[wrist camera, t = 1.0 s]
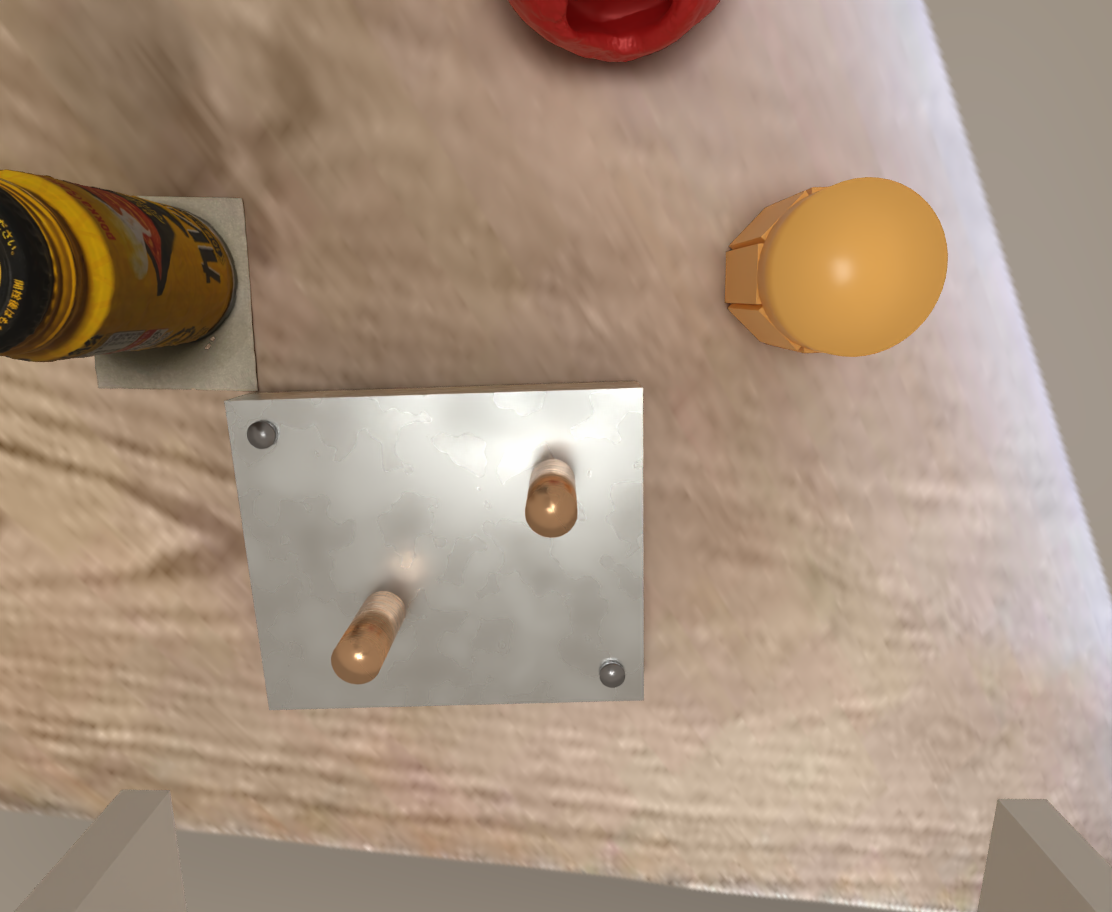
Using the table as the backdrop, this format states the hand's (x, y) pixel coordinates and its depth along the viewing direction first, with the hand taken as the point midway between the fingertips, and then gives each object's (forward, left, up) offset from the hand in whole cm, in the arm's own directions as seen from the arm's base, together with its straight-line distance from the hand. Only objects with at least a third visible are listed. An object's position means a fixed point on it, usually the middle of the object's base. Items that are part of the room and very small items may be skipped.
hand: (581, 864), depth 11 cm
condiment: (-9, -18, -23) cm, 30 cm away
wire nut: (-9, +10, -22) cm, 26 cm away
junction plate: (+3, -6, -22) cm, 23 cm away
